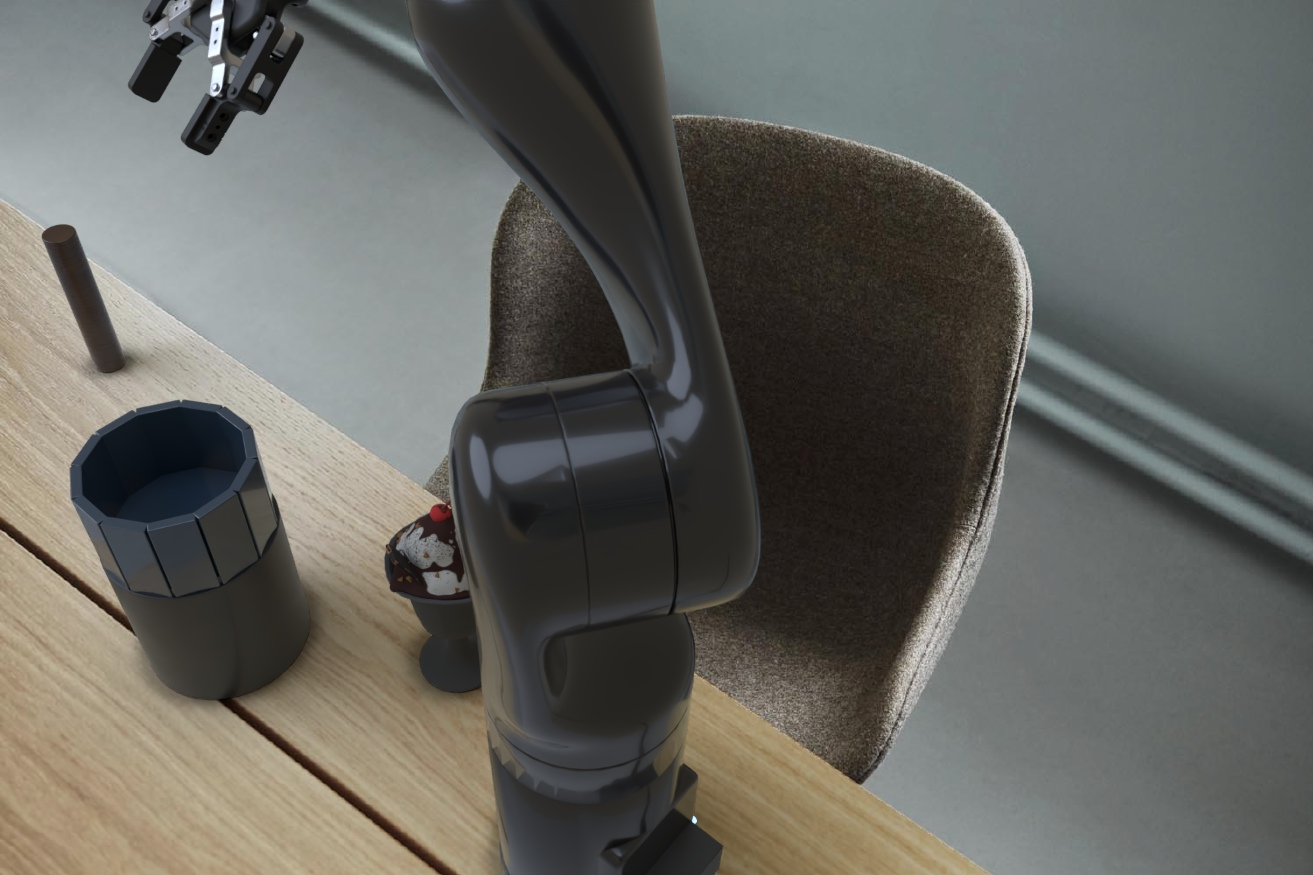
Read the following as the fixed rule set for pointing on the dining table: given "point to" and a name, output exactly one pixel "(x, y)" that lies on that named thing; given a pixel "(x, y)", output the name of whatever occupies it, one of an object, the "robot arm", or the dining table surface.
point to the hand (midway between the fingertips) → (167, 122)
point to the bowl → (174, 497)
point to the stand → (225, 627)
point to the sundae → (437, 597)
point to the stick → (83, 296)
